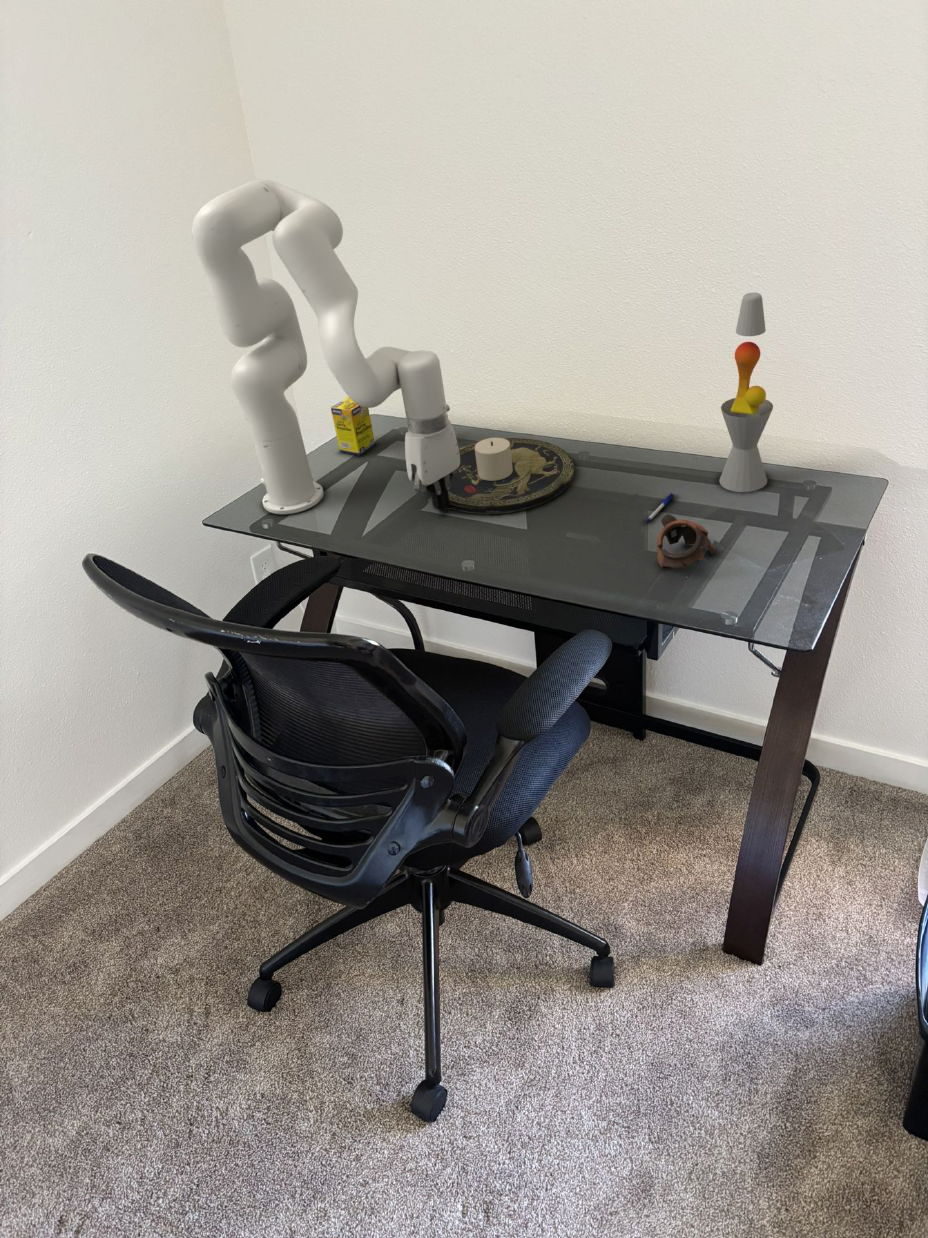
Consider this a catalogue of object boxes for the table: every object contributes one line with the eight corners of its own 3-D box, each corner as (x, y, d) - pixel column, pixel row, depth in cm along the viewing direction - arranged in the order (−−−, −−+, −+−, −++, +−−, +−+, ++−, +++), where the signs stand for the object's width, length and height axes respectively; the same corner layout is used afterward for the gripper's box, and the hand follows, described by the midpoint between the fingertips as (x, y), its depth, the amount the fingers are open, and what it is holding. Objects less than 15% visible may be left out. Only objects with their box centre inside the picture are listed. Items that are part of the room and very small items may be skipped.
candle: (470, 475, 190) (466, 444, 186) (494, 461, 193) (491, 430, 189) (496, 484, 185) (492, 452, 181) (519, 469, 189) (516, 438, 185)
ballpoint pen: (669, 495, 176) (669, 491, 176) (674, 496, 176) (674, 491, 175) (645, 522, 170) (645, 518, 169) (650, 523, 169) (650, 518, 169)
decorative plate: (455, 522, 175) (407, 460, 198) (456, 531, 176) (408, 468, 199) (600, 480, 181) (537, 424, 205) (601, 489, 182) (538, 432, 206)
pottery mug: (728, 561, 157) (718, 537, 151) (682, 595, 158) (669, 573, 152) (688, 517, 164) (676, 492, 158) (643, 550, 166) (630, 526, 159)
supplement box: (360, 456, 207) (350, 410, 201) (339, 452, 210) (329, 407, 204) (376, 445, 211) (367, 399, 205) (356, 441, 214) (346, 396, 208)
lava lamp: (711, 487, 177) (716, 301, 157) (728, 466, 183) (735, 284, 162) (758, 495, 172) (770, 305, 152) (775, 473, 178) (788, 287, 158)
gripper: (442, 401, 178) (455, 487, 188) (383, 432, 170) (400, 520, 180) (470, 409, 173) (482, 497, 184) (411, 441, 165) (427, 531, 176)
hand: (442, 508), depth 182 cm, fingers closed
